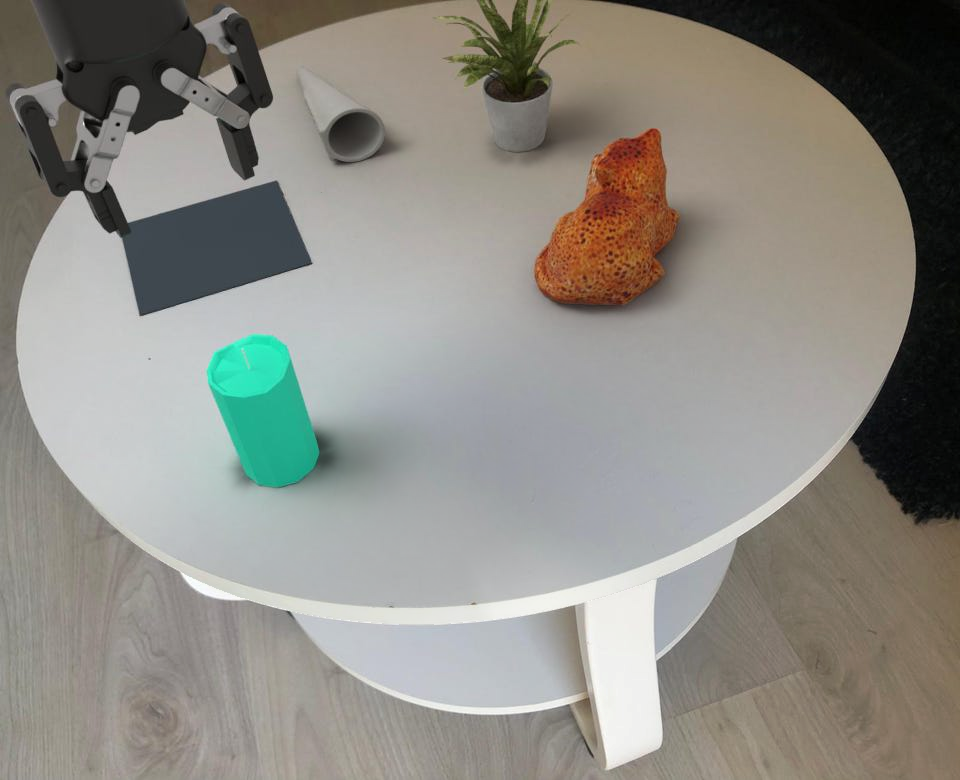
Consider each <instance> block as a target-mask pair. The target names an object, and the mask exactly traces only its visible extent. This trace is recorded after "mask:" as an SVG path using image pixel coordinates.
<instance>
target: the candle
mask: <svg viewBox="0 0 960 780" xmlns="http://www.w3.org/2000/svg"><path fill="white" fill-rule="evenodd" d="M206 377H207V378H206V379H207V384H208V387H209V389H210V391H211V394H212V396H213V398H214V401H215V403H216V406H217V408H218V411H219V413H220V416H221V418H222V421H223V422H224V426H225V427H226V430H227V432H228V435H229V437H230V440H231V443H232V445H233V447H234V449H235V451H236V454H237V457H238V459H239V461H240V464H241V466H242V468H243V471H244V473H245V475H246V476H247V477H248V478H250V479H251V480H252V481H253V482H254V483H256V485H258V486H264V487H271V488H277V489H278V488H282V487H286V486H288V485H292V484H295V483H298V482H300V481H301V480H302V479H304V477H306V476H307V475H308V474H310V473H311V472H312V471H313V470H314V468H315V466H316V464H317V460H318V459H319V456H320V453H321V452H320V448H319V444H318V441H317V437H316V434H315V431H314V428H313V425H312V422H311V418H310V415H309V412H308V408H307V406H306V403H305V399H304V397H303V396H304V395H303V392H302V390H301V386H300V383H299V380H298V377H297V374H296V370H295V367H294V364H293V361H292V358H291V354H290V351H289V348H288V345H287V344H286V343H284V342H283V341H281V340H280V339H278V338H277V337H276V336H274V335H273V334H259V333H251V334H248V335H246V336H244V337H243V338H240V339H238V340H236V341H234V342H232V343H230V344H227V345H226V346H224V347H222V348H220V349H218V350H215V351H214V352H213V353H212V356H211V359H210V361H209V363H208V366H207V368H206Z"/></svg>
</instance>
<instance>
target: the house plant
mask: <svg viewBox="0 0 960 780" xmlns="http://www.w3.org/2000/svg"><path fill="white" fill-rule="evenodd" d="M486 1H487V2H486ZM476 2H477V3H478V5H479V8H480V10H481V12H482V13H483V15H484V17H485V19H486V20H487V22H488V23H489V25H490V27H491V29H492V30H493V32H494V34H495V36H496V37H497V39H495V38H494V37H493V36H492V35H491V34H490V33H489V32H488V31H487V30H486V29H484V28H483V27H482V26H481V25H479V24H478V23H477V22H475V21H474V20H472V19H469V18H467V17H465V16H462V15H439V16H435V17H433V19H438V20H439V19H442V20H455V21H461V22H448V23H447V25H461V26H465V27H467V29H469V30H470V31H471V34H473V35H474V37H473V38H471V39H468V40H466V41H464V42H463V43H462V44H461V46H460V48H468V47H472V48H480V49H482V51H483V52H484V53H485V54H475V53H474V54H473V53H465V54H455V55H450V56H445V57H442V58H441V60H445V61H446V60H447V61H448V62H447V63H450V64H451V63H453V64H455V63H459V64H460V63H461V64H466V65H465V66H464V67H462V68H461V69H460V71H459V72H458V74H457V75H456V77H455V79H454V80H457V78H459V77H462V76H466V75H467V77H466V80H465V82H464V85H463V89H462V91H464V90H465V89H466V88H467V87H469V86H471V85H473V84H475V83H477V82H478V81H480V80H482V79H483V80H482V81H481V85H480V86H481V87H480V89H481V93H482V96H483V100H484V104H485V107H486V112H487V116H488V120H489V123H490V127H491V131H492V135H493V139H494V142H495V144H496V145H497V146H498V147H499V148H500V149H502V150H504V151H507V152H510V153H511V152H512V153H525V152H528V151H532V150H534V149H536V148H539V146H541V145H542V144H543V142H544V141H545V136H546V133H547V132H546V131H547V125H548V118H549V110H550V106H551V105H550V104H551V99H552V98H551V97H552V92H553V86H554V85H553V84H554V83H553V78H552V77H551V75H550V74H549V73H548V72H547V71H546V70H544V69H542V68H541V67H540V64H541V62H542V61H543V60H544V59H545V57H546V56H548V54H550V53H552V52H553V51H554V50H556V49H559V48H561V47H564V46H567V45H571V44H576V45H579V46H581V48H582V45H581V44H580V43H579V42H578V41H576V40H574V39H564V40H561V41H559V42H557V43H556V44H554V45H553V46H551V47H549V48H548V49H547V50H546V51H545V52H544V53H543V54H542V55H541V57H540V58H539V60H538V61H537V62H536V61H535V59H536V58H537V55H538V53H539V51H540V50H541V48H542V46H543V44H544V43H545V41H546V40H547V38H548V37H551V38H552V32H554V30H556V28H557V27H558V26H559V24H560V23H561V22H562V21H563V20H565V18H567V17H568V16H569V15H570V14H571V13H572V11H571V12H570V13H569V14H567V15H566V16H564V17H563V18H561V19H559V21H558V22H557V23H556V25H554V26H553V28H551V30H550V31H548V33H546V34H545V35H543V36H540V34H541V31H542V28H543V26H544V24H545V21H546V20H547V16H548V14H549V12H550V7H551V3H552V0H546V1H545V2H544V5H543V0H536V3H535V6H534V10H533V13H532V16H531V20H530V23H527V13H528V12H527V11H528V4H529V0H516V2H515V5H514V8H513V11H512V16H511V28H510V27H509V24H508V23H507V22H506V20H505V18H503V17H502V15H501V14H499V12H498V10H497V7H496V5H495V3H494V1H493V0H476ZM487 3H488V4H487ZM488 5H489V6H490V7H489V6H488ZM542 6H543V7H542ZM541 9H542V10H541ZM540 12H541V13H540ZM538 17H539V18H538ZM537 21H538V22H537ZM473 26H474V27H473ZM478 29H479V30H480V31H481V32H482V33H484V34H485V35H486V36H483V35H482V33H481V32H480V31H479V30H478ZM487 42H489V43H490V44H491V45H490V44H488V43H487ZM493 47H494V48H495V49H494V48H493Z"/></svg>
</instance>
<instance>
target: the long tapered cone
mask: <svg viewBox="0 0 960 780" xmlns="http://www.w3.org/2000/svg"><path fill="white" fill-rule="evenodd" d="M295 76H296V79H297V80H298V82H299V85H300V88H301V90H302V93H303V96H304V100H305V103H306V105H307V107H308V110H309V112H310V115H311V117H312V120H313V122H314V124H315V127H316V129H317V132H318V135H319V137H320V140H321V142H322V144H323V147H324V149H325V151H326V154H327V156H328V158H329V160H330V161H334V160H338V161H341V162H344V163H345V162H346V163H356V162H361V161H364V160H366V159H368V158H370V157H372V156H373V155H374V154H375V153H377V151H378V150H379V149H380V148H381V146H382V145H383V143H384V140H385V135H386V128H385V127H386V126H385V123H384V121H383V119H382V118H381V117H380V116H379V115H378V113H376V112H375V111H374V110H372V109H370V108H369V107H367V106H366V105H364V104H363V103H361V102H359V101H358V100H356V99H355V98H354V97H352V96H350V95H349V94H347V93H346V92H344V91H343V90H341V89H340V88H338V86H335V85H334V84H332V83H331V82H329V81H328V80H327V79H325V78H323V77H322V76H320V75H319V74H317V73H316V72H314V71H313V70H311V69H309V68H307V67H306V66H304V65H303V66H302V65H300V66H298V67H297V68H296V70H295Z"/></svg>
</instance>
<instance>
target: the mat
mask: <svg viewBox="0 0 960 780" xmlns="http://www.w3.org/2000/svg"><path fill="white" fill-rule="evenodd" d="M128 225H129V227H130V229H131V232H132V233H131V234H129V235H127V236H125V237H123V238H121V239H122V244H123V250H124V253H125V257H126V262H127V265H128V270H129V274H130V280H131V284H132V288H133V292H134V297H135V301H136V305H137V310H138V315H139V317H141V316H144V315H148V314H151V313H154V312H157V311H161V310H164V309H167V308H171V307H174V306H177V305H180V304H184V303H187V302H190V301H194V300H197V299H200V298H203V297H207V296H211V295H214V294H217V293H220V292H223V291H226V290H230V289H233V288H237V287H240V286H243V285H247V284H250V283H252V282H256V281H259V280H263V279H266V278H269V277H272V276H276V275H279V274H283V273H286V272H289V271H292V270H296V269H299V268H303V267H305V266H308V265H311V264H313V263H312V260H311V258H310V255H309V253H308V251H307V248H306V246H305V244H304V241H303V238H302V237H301V234H300V232H299V228H298V227H297V225H296V222H295V220H294V217H293V215H292V213H291V210H290V208H289V206H288V203H287V202H286V198H285V196H284V194H283V192H282V189H281V187H280V185H279V182H278V180H271V181H269V182H266V183H262V184H259V185H256V186H251V187H248V188H245V189H241V190H238V191H234V192H231V193H227V194H224V195H223V194H222V195H221V196H217V197H213V198H210V199H206V200H202V201H199V202H197V203H196V202H195V203H192V204H189V205H185V206H182V207H179V208H175V209H174V208H173V209H172V210H171V209H170V210H168V211H165V212H161V213H157V214H154V215H151V216H147V217H144V218H140V219H137V220H133V221H130V222H128Z"/></svg>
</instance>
